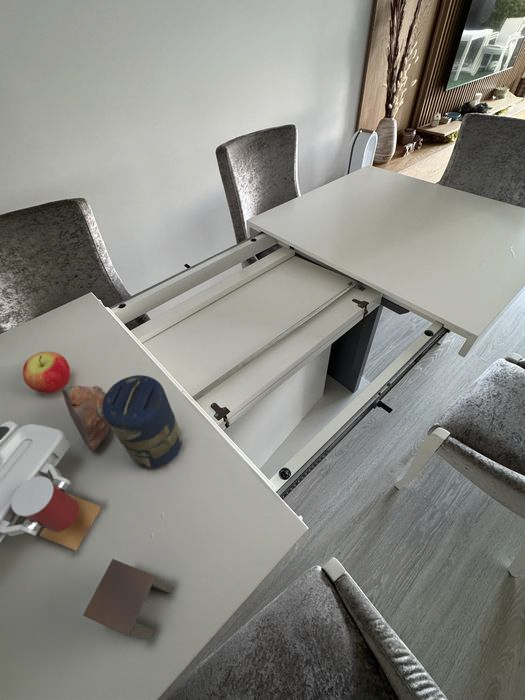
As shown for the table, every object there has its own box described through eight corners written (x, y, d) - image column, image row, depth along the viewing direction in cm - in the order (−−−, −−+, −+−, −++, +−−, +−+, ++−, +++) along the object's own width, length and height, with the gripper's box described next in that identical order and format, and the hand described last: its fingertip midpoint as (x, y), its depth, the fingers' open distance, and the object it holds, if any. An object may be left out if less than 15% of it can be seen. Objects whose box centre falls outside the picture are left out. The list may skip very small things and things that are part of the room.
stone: (69, 413, 70) (46, 385, 62) (109, 391, 73) (91, 361, 66) (94, 459, 64) (70, 434, 56) (136, 433, 67) (119, 405, 60)
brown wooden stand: (152, 638, 47) (127, 636, 39) (114, 621, 48) (82, 615, 40) (173, 587, 51) (154, 575, 42) (137, 572, 52) (112, 558, 44)
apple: (63, 403, 72) (39, 374, 64) (27, 397, 73) (-1, 367, 65) (84, 372, 77) (64, 342, 69) (50, 366, 78) (27, 336, 70)
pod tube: (65, 537, 52) (34, 521, 45) (37, 526, 53) (2, 508, 46) (86, 502, 55) (60, 482, 48) (59, 493, 56) (30, 471, 49)
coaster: (76, 551, 54) (74, 550, 54) (40, 536, 55) (38, 535, 55) (102, 507, 58) (100, 506, 58) (68, 494, 60) (66, 493, 59)
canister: (121, 460, 64) (82, 409, 50) (150, 417, 69) (122, 361, 56) (166, 479, 61) (137, 431, 48) (192, 433, 67) (173, 378, 53)
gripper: (-104, 545, 44) (-20, 585, 41) (15, 412, 57) (86, 435, 54) (-68, 555, 49) (10, 591, 46) (35, 430, 62) (101, 452, 59)
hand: (52, 506), depth 50 cm, fingers closed on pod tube, 5 cm apart
